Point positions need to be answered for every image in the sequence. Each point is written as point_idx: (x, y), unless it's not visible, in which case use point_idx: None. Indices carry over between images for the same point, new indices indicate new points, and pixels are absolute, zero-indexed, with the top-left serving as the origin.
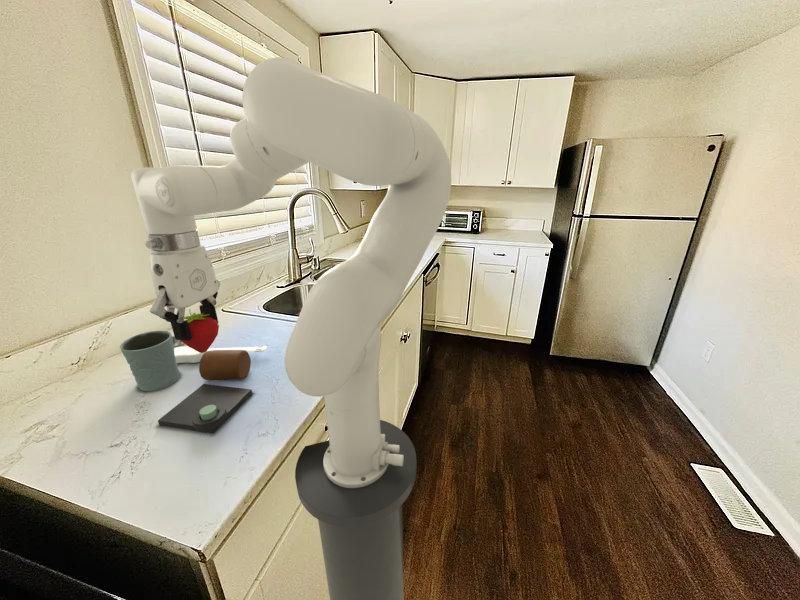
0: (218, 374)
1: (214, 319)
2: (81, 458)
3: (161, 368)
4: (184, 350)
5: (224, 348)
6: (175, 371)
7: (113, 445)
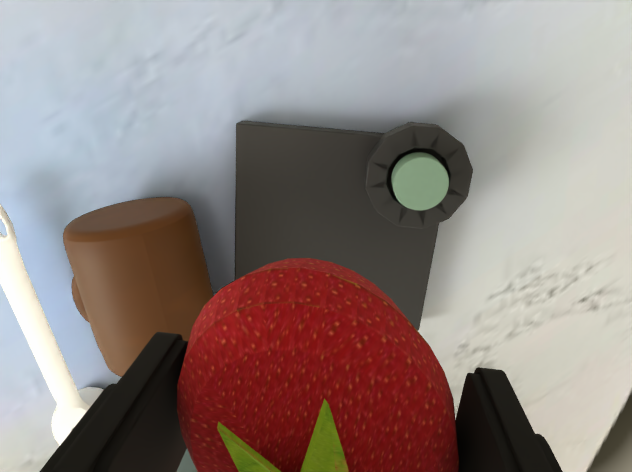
0: (205, 277)
1: (169, 368)
2: (528, 413)
3: None
4: None
5: (39, 356)
6: None
7: None
